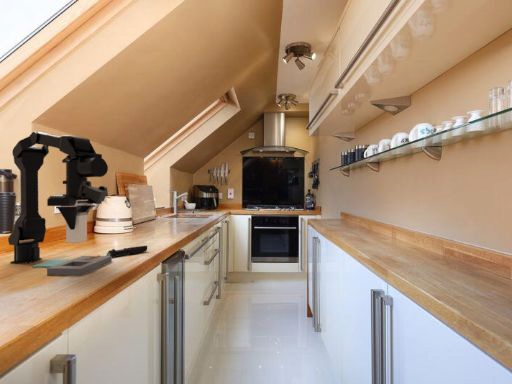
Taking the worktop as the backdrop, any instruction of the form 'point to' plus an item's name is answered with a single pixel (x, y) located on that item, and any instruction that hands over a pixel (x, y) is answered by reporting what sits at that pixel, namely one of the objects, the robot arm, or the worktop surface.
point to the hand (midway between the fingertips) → (76, 228)
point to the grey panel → (79, 265)
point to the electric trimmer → (126, 251)
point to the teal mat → (51, 263)
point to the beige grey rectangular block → (77, 229)
